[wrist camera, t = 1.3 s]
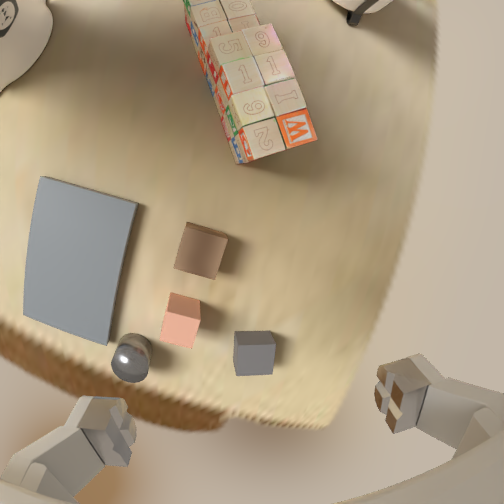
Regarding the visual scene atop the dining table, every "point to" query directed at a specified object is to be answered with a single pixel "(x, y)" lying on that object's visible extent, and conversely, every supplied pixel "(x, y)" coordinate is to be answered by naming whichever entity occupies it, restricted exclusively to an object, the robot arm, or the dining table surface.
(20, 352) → the dining table surface
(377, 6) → the coffee press
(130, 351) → the dark metal cylinder
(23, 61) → the robot arm
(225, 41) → the stack of blocks
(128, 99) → the dining table surface
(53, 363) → the dining table surface
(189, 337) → the terracotta block
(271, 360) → the charcoal rubber cube
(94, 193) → the slate board
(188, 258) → the walnut block
